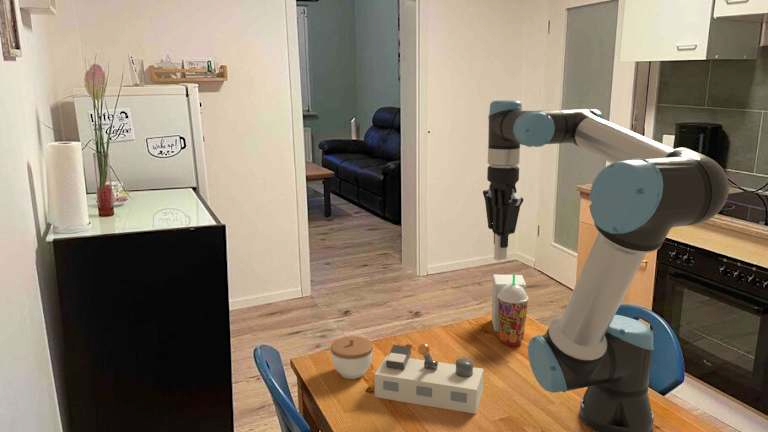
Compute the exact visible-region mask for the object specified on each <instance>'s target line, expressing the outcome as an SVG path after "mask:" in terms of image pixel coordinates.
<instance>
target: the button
mask: <svg viewBox="0 0 768 432" xmlns="http://www.w3.org/2000/svg"><path fill="white" fill-rule="evenodd" d="M455 365H456V375H458V376H460V377H470V376H472V375H473V367H474V361H473V360H472V359H470V358H464V357H461V358H458V359H456V361H455Z"/></svg>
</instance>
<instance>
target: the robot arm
mask: <svg viewBox="0 0 768 432" xmlns="http://www.w3.org/2000/svg"><path fill="white" fill-rule="evenodd" d="M522 107H523V106H522V102H521V101H520V100H514V99H513V100H512V99H509V100H508V99H506V100H505V99H502V100H500V99H499V100H497V99H496V100H493V101H491V102H490V103H489V113H488V142H487V143H488V147H487V162H486V163H487V164H488V166H487V172H486V173H487V178H486V180H487V181H488V182H489V183H490V184H489V186H488V187H489V188H488V189H485V190H483V191H482V194H483V197H484V202H485V210H486V211H485V212H486V219H487V226H488V227H487V228H488V229H489V230H492V233H493V245H494V246H493V247H494V248H493V249H494V253H493V260H495V261H504V260H507V255H508V253H507V250H508V249H507V248H508V246H509V235H511V234H512V235H513V234H515V232H516V228H517V223H518V219H519V215H520V210H521V206H522V204H523V203H524V197H522V196H521V197H519V195H518V194H517V187H516V184H517V183H518V182H519V180H520V167H519V166H518V165H519V164H520V154H521V153H520V151H521V146H522V145H523V146H525V147H528V148H532V147H533V148H534V147H535V148H541V147H543V146H545V145H559V144H573V145H575V146H577V147H578V148H581V149H583V150H585V151H587V152H589V153H591V154H593V155H594V156H596V157H598V158H600V159H603V160H604V161H606V162H608V163H610V164H608V165H607V166H605V167H603V168H602V169H601V170H600V172H598V174H597V175H596V177H595V178H594V179H593V182H592V184H591V187H590V190H589V198H588V199H589V201H591V203H590V204H589V207H588V208H589V212H590V215H591V218H592V220H593V225H594V228H595V230H596V231H597V234H596V237H595V239H594V241H593V244H592V247H591V248H590V250H589V253H588V255H587V258H586V260H585V262H584V265H583V266H582V268H581V272H580V274H579V276H578V278H577V281H576V283H575V286H574V288H573V290H572V292H571V295H570V296H569V300H568V301H567V303H566V306H565V308H564V310H563V313H562V314H561V315H558V316H556V317H554V318H553V319H552V320H551V321H550V323H549V325H548V328H547V330H546V333H544V334H542V335H541V334H536V335H535V336H533V337H531V338H530V340H529V341H528V345H527V356H528V362H529V365H530V369H531V372H532V374H533V377H535V380H536V381H537V383H538V385H539V386H540V387H541V388H542V389H543V390H545V391H547V392H549V393H551V394H552V393H554V394H555V393H560V392H562V393H566V392H568V391H574V390H578V389H583V388H586V389H585V390H586V391H585V392H584V395H583V397H582V398H581V401H580V403H579V404H580V405H579V416H580V418H581V420H582V421H583V422H584V424H586V426H588V427H589V428H590V429H592V430H594V431H595V432H652V431H653V429H654V422H655V421H654V420H655V416H654V411H653V410H652V407H651V401H650V398H649V396H650V395H649V385H650V376H651V370H652V369H651V368H652V362H653V361H652V360H653V351H654V350H655V348H654V332H653V330H652V329H651V328H650V327H649V326H648V325H647V324H645V323H643V322H641V321H639V320H637V319H634V318H631V317H628V316H625V315H619V314H617V312H618V310H619V308H620V305H621V304H622V302H623V301H624V298H625V296H626V294H627V293H628V291H629V288H631V287H630V286H631V284H632V282H633V280H634V279H635V277H636V275H637V273H638V272H639V269H640V267H641V265H642V263H643V262H644V261H643V260H644V259H645V258H646V255H647V254H649V253H652V252H653V253H654V252H656V251H658V250H659V249H660V248H661V247H662V246H663V243H664V242H665V240H666V238H667V237H668V234H669V233H670V230H672V228H679V227H685V226H686V227H687V226H688V227H689V226H695V225H699V224H702V223H705V222H707V221H710V220H711V219H712V218H714V217H715V216H717V215H718V214H719V213H720V211H722V209H723V207H724V206H725V205H726V203H727V200H728V196H729V193H730V183H729V178H728V176H727V173H726V171H725V170H724V168H723V167H722V166H721V165H720V164H719V163H718V162H717V161H716V160H714V159H713V158H710V157H709V156H706V155H704V154H702V153H699V152H697V151H694V150H692V149H690V148H687V147H678V148H672V147H670V146H667V145H665V144H663V143H661V142H658V141H656V140H653V139H651V138H649V137H647V136H644V135H642V134H639V133H636V132H634V131H632V130H629V129H627V128H625V127H622V126H620V125H617V124H616V123H613V122H610V121H608V120H607V119H606V118H605V116H604V115H603V114H602V112H601V110H598V109H595V108H594V109H593V108H576V109H557V110H556V109H551V110H550V109H547V110H546V109H545V110H523V108H522Z"/></svg>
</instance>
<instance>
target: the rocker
mask: <svg viewBox="0 0 768 432" xmlns="http://www.w3.org/2000/svg"><path fill="white" fill-rule="evenodd" d="M411 354H412V346H405V345H401V344H400V345H399V344H393V345H392V348H391V350H390V351H389V354H388V355H389V356H388V358H387V360H386V367H389V368H395V369H402V370H404V369H405V367H406V364H407V362H408V360H409V358H410V357H411Z"/></svg>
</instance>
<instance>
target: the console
mask: <svg viewBox="0 0 768 432" xmlns="http://www.w3.org/2000/svg"><path fill="white" fill-rule="evenodd" d="M388 356H389V354H387V355H386V357H385V358H384V360H383V361H382V363H381V364H380V366H379V367H378V369H376V371H375V373H374V397H375V398H377V399H378V398H379V399H385V400H391V401H394V402H395V401H397V402H402V403H409V404H415V405H418V406H419V405H421V406H427V407H432V408H437V409H445V410H450V411H456V412H462V413H467V414H474V415H475V414H476V415H477V412H478V408H479V406H480V402H481V399H482V395H483V392H484V368H480V367H476V366H473V375H472V376H470V377H460V376H458V375H456V364H453V363H447V362H439V361H437V362H438V368H437V369H431V368H425V367H424V362H425V359H420V358H419V359H417V358H410V357H409V360H408V362H407V364H406V367H405V369H404V370H402V369H395V368H389V367H386V360H387V358H388Z"/></svg>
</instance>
